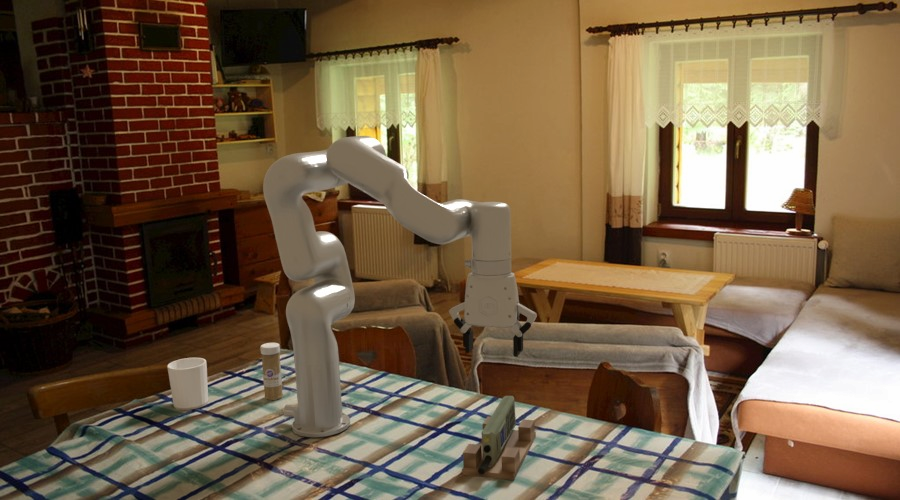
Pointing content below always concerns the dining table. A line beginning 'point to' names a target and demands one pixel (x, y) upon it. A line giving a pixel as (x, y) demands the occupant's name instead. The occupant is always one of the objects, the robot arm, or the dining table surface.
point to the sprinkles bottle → (271, 371)
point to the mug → (188, 383)
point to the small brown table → (509, 456)
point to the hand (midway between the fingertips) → (493, 352)
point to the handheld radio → (497, 432)
